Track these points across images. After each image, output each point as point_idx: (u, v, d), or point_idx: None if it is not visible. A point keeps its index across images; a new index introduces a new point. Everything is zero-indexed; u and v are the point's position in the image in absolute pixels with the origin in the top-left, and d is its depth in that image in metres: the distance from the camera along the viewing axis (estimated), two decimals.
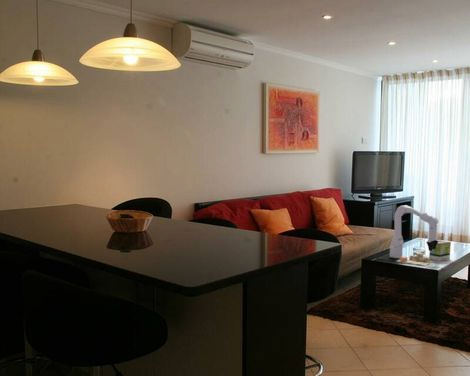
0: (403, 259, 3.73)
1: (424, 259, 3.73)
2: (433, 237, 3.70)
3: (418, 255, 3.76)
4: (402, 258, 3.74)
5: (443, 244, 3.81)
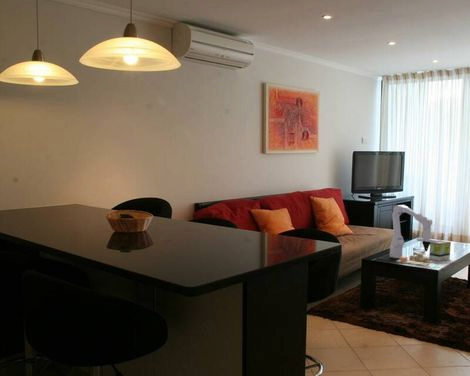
0: (403, 259, 3.73)
1: (424, 259, 3.73)
2: None
3: (418, 255, 3.76)
4: (402, 258, 3.74)
5: (443, 244, 3.81)
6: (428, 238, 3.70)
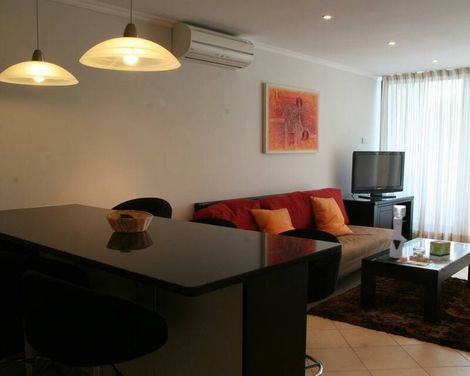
0: (403, 259, 3.73)
1: (424, 259, 3.73)
2: (393, 236, 3.79)
3: (418, 255, 3.76)
4: (402, 258, 3.74)
5: (443, 244, 3.81)
6: (398, 237, 3.75)
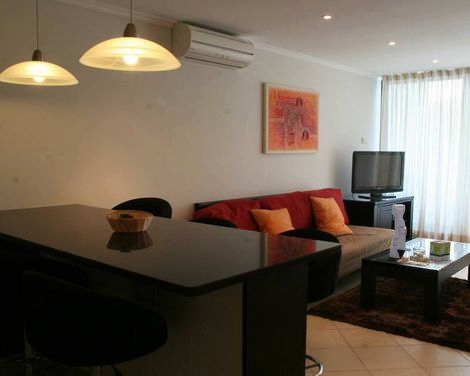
0: (404, 259, 3.72)
1: (424, 259, 3.73)
2: (397, 246, 3.77)
3: (418, 255, 3.76)
4: (403, 258, 3.73)
5: (443, 244, 3.81)
6: (403, 246, 3.73)
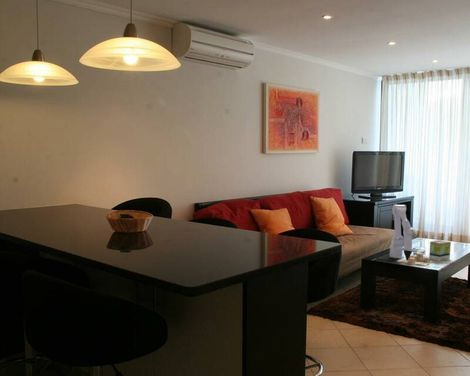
0: (411, 260, 3.69)
1: (424, 259, 3.73)
2: (404, 246, 3.73)
3: (418, 255, 3.76)
4: (410, 259, 3.69)
5: (443, 244, 3.81)
6: (409, 247, 3.70)
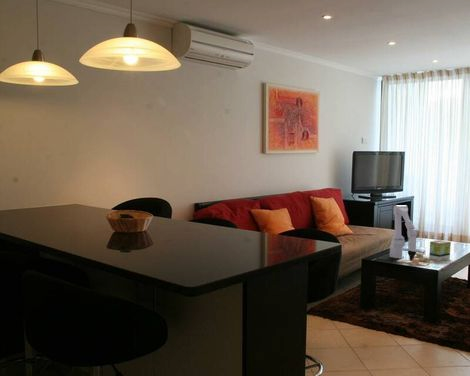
0: (415, 261, 3.67)
1: (424, 259, 3.73)
2: (408, 247, 3.71)
3: (418, 255, 3.76)
4: (414, 260, 3.67)
5: (443, 244, 3.81)
6: (413, 248, 3.68)
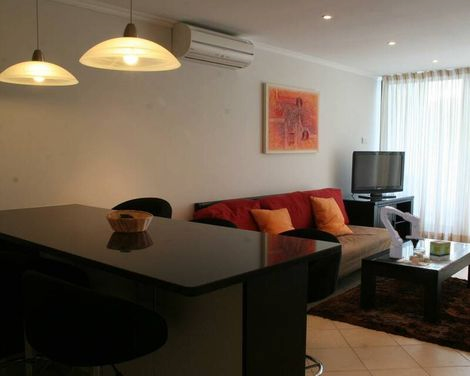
0: (415, 261, 3.67)
1: (424, 259, 3.73)
2: None
3: (418, 255, 3.76)
4: (414, 260, 3.67)
5: (443, 244, 3.81)
6: (416, 236, 3.81)
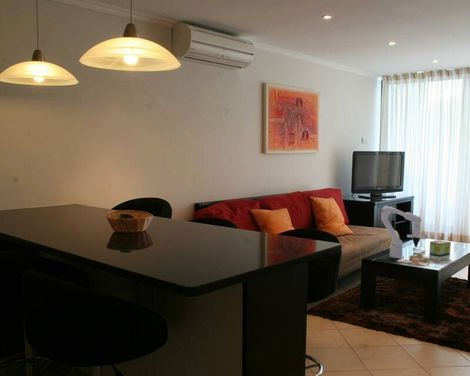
0: (415, 261, 3.67)
1: (424, 259, 3.73)
2: None
3: (418, 255, 3.76)
4: (414, 260, 3.67)
5: (443, 244, 3.81)
6: (418, 234, 3.87)
